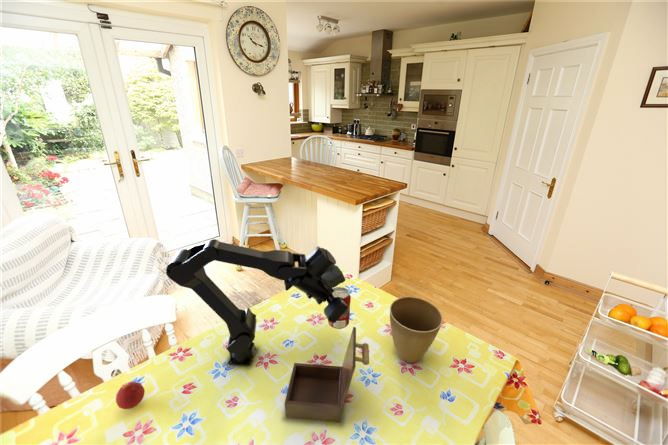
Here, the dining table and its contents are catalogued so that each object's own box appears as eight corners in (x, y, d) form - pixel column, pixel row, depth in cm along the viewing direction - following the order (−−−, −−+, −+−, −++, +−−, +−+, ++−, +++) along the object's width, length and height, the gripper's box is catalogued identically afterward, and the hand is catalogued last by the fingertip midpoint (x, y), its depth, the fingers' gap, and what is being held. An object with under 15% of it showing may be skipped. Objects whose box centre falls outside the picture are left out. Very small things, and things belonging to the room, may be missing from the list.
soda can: (347, 332, 89) (349, 301, 84) (325, 328, 90) (326, 297, 85) (350, 317, 95) (352, 287, 90) (330, 314, 96) (331, 284, 91)
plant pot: (414, 383, 81) (422, 340, 74) (375, 349, 91) (379, 309, 85) (443, 355, 89) (453, 315, 83) (404, 328, 100) (410, 290, 93)
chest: (285, 417, 72) (284, 403, 70) (295, 376, 82) (294, 362, 80) (340, 422, 71) (341, 408, 69) (342, 379, 81) (343, 366, 79)
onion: (142, 390, 78) (134, 368, 74) (151, 403, 74) (143, 382, 71) (117, 406, 74) (107, 384, 70) (125, 421, 70) (115, 399, 67)
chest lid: (352, 366, 63) (371, 370, 63) (353, 326, 73) (369, 330, 73) (339, 407, 68) (357, 410, 68) (342, 365, 79) (357, 368, 79)
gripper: (342, 280, 74) (376, 305, 82) (317, 247, 89) (347, 270, 98) (313, 312, 74) (349, 333, 83) (293, 274, 90) (325, 294, 98)
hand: (343, 305), depth 90 cm, fingers closed on soda can, 7 cm apart
